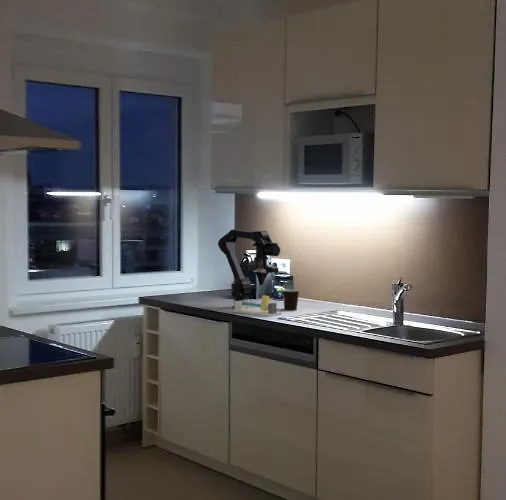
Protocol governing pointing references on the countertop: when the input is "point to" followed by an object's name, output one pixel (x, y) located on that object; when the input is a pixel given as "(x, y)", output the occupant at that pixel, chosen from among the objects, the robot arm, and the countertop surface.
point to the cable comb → (251, 309)
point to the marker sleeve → (264, 303)
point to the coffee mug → (290, 299)
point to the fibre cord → (270, 306)
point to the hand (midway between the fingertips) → (261, 285)
